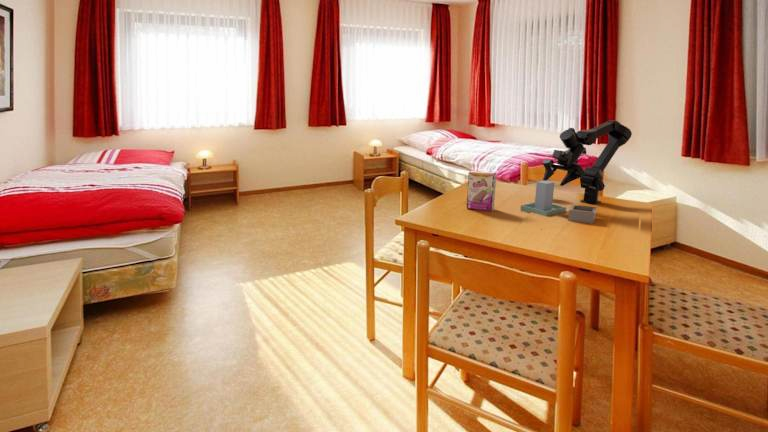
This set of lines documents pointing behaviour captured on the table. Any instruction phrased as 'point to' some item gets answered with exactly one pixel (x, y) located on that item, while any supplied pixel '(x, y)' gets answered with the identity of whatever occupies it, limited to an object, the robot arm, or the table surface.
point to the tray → (530, 208)
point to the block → (544, 195)
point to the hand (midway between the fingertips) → (552, 183)
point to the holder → (582, 214)
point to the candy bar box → (481, 190)
